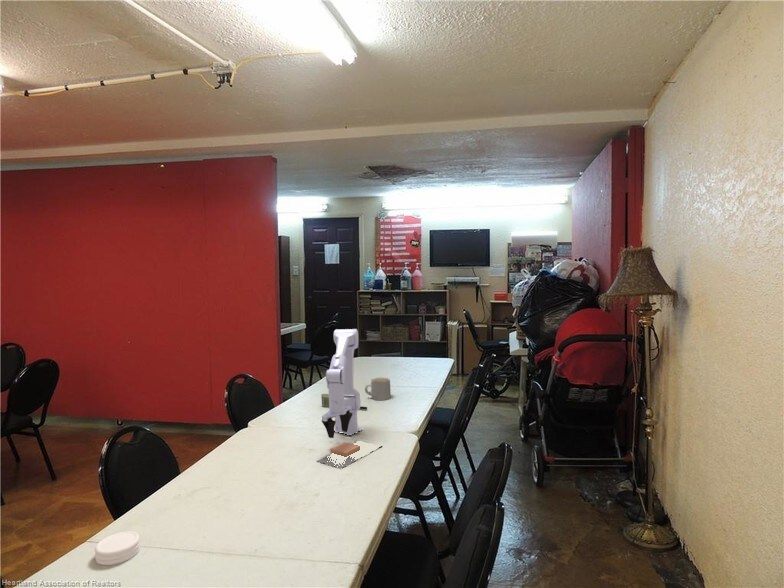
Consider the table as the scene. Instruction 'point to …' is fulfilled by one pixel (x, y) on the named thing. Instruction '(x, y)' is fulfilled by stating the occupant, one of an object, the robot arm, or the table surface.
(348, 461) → the rubber mat
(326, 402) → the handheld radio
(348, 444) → the peach square slab
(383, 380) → the coffee mug
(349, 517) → the table surface
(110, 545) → the white thick disc
